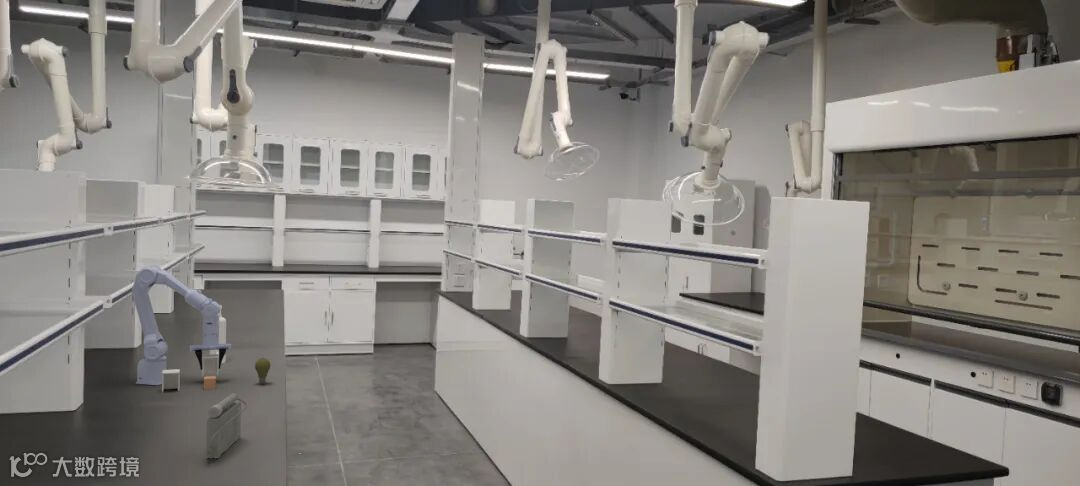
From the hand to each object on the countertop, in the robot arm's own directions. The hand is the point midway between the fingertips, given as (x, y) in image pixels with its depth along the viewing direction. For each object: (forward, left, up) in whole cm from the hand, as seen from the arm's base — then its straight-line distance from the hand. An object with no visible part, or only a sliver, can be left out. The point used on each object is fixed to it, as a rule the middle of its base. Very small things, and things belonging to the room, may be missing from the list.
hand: (210, 368), depth 288 cm
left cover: (-6, -16, -5) cm, 17 cm away
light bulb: (+20, +3, -5) cm, 21 cm away
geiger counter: (+51, -72, -5) cm, 88 cm away
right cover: (0, 0, -2) cm, 2 cm away
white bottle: (-18, +33, -5) cm, 38 cm away
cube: (+5, -8, -5) cm, 11 cm away
